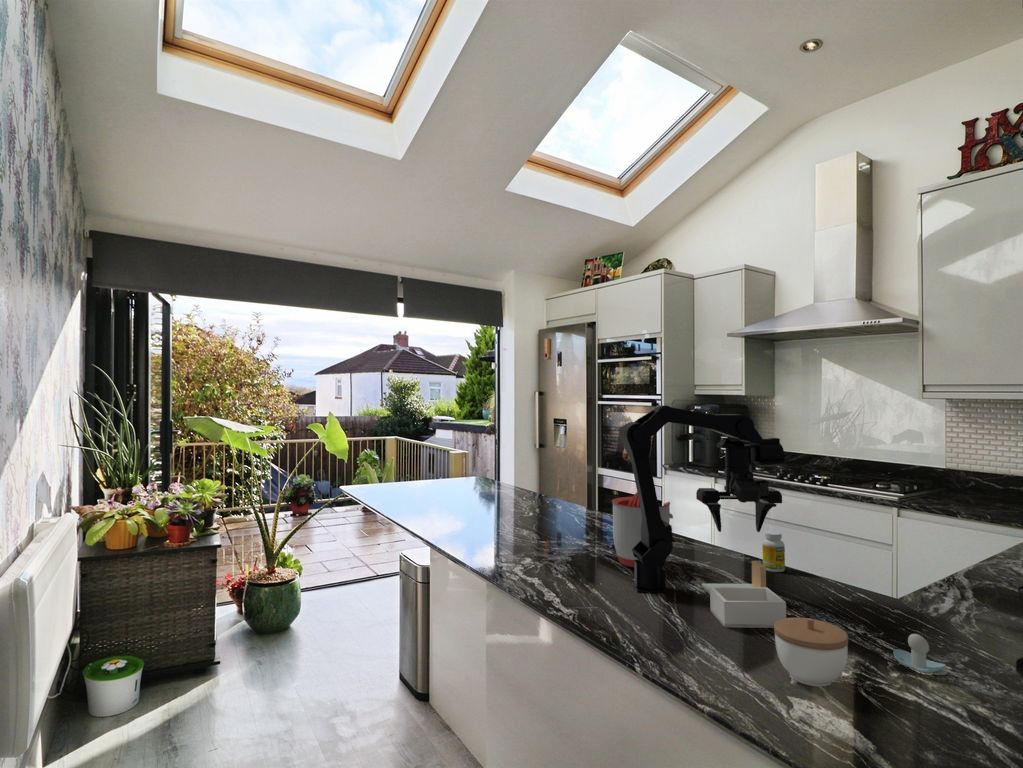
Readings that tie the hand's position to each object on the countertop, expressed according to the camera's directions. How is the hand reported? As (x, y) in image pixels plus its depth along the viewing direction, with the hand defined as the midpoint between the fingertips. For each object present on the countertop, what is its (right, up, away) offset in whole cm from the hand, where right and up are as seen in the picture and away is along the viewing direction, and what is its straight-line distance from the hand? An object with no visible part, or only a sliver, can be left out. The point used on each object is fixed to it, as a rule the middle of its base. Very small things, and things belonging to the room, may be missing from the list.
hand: (738, 531), depth 141 cm
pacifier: (+14, -12, -43) cm, 47 cm away
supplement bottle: (+14, -14, +13) cm, 24 cm away
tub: (-7, -13, -21) cm, 25 cm away
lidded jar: (-6, -12, -46) cm, 48 cm away
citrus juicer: (-19, -14, +19) cm, 30 cm away
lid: (-4, -13, -8) cm, 16 cm away
